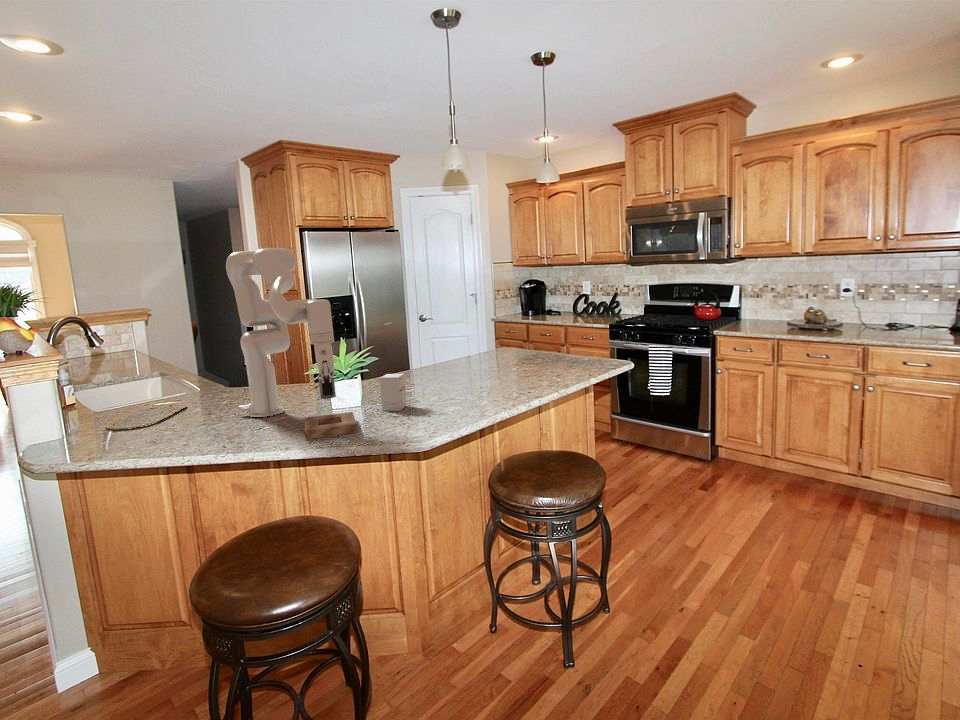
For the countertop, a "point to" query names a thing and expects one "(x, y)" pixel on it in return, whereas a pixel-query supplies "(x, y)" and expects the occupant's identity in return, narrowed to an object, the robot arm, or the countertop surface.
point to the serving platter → (138, 425)
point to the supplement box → (393, 392)
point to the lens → (321, 386)
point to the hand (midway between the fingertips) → (327, 392)
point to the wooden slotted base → (330, 425)
